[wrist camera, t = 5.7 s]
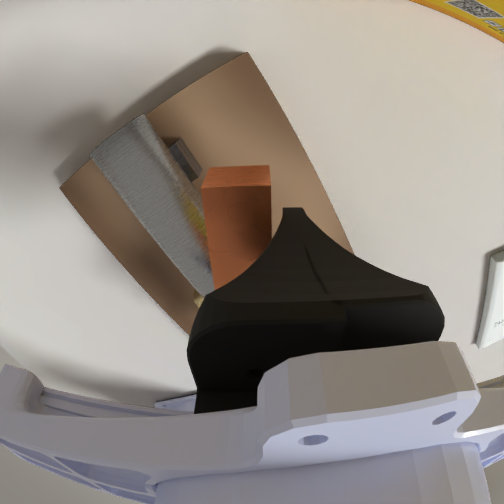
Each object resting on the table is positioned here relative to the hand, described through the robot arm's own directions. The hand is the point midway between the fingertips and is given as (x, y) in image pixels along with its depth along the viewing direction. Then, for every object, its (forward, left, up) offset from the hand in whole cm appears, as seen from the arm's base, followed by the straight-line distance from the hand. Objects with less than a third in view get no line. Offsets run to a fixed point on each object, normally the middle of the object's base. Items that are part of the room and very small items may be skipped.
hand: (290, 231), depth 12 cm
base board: (-5, -4, -6) cm, 9 cm away
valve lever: (-3, -2, 0) cm, 3 cm away
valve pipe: (-5, -4, -5) cm, 8 cm away
